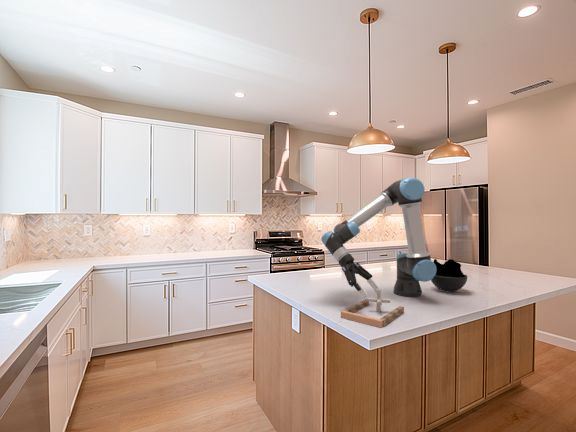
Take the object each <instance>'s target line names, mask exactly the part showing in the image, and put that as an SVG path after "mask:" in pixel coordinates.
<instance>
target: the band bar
mask: <svg viewBox="0 0 576 432" xmlns="http://www.w3.org/2000/svg"><path fill="white" fill-rule="evenodd" d="M340 318H342V319H345V320H350V321H354V322H357V323H360V324H365V325H367V326H368V325H370V326H373V327H376V328H382V327H384V326H383V320H381V319H380V318H375V317H371V316H367V315H363V314H358V313H356V312H355V313H351V312H347V311H342V310H341V311H340Z"/></svg>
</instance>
